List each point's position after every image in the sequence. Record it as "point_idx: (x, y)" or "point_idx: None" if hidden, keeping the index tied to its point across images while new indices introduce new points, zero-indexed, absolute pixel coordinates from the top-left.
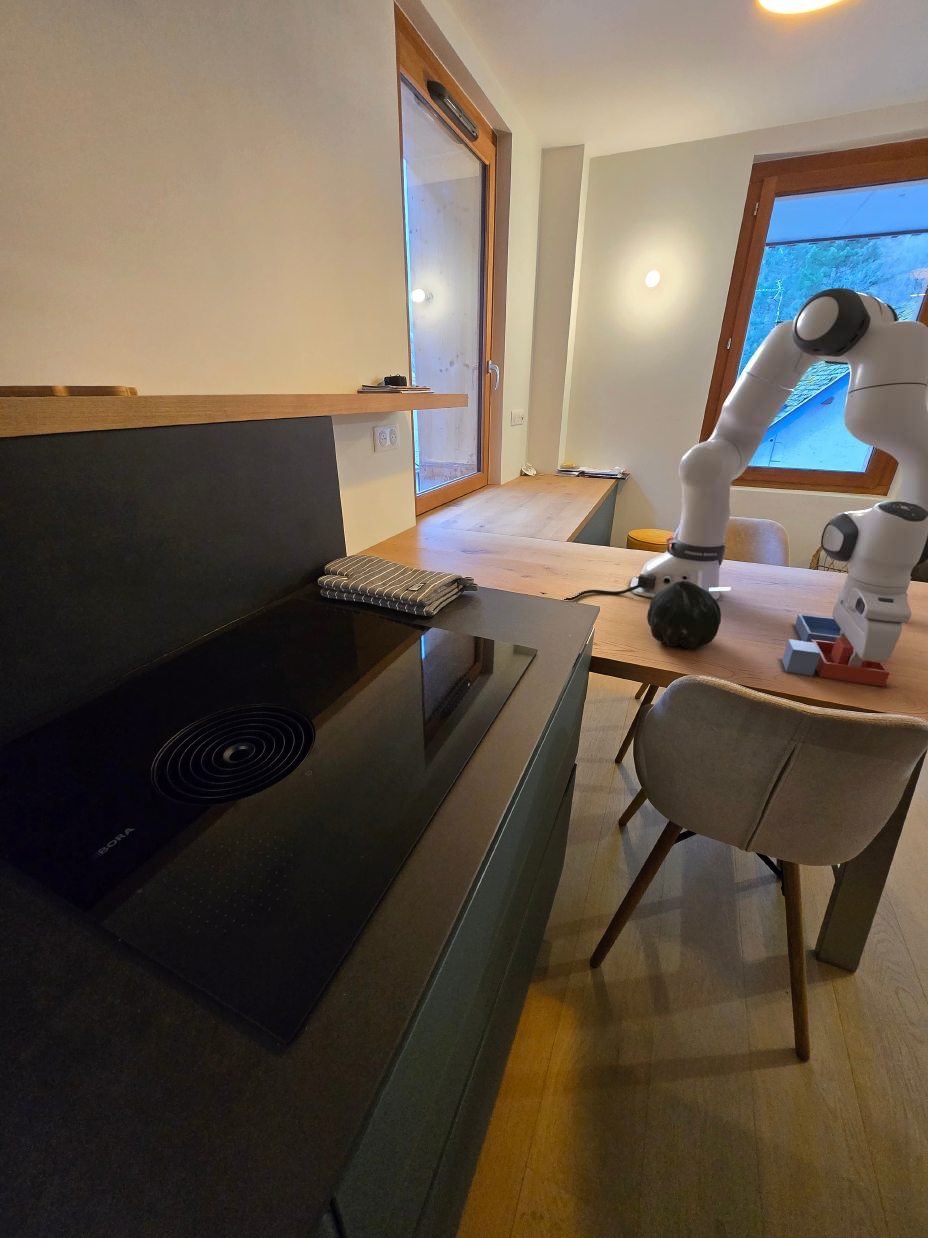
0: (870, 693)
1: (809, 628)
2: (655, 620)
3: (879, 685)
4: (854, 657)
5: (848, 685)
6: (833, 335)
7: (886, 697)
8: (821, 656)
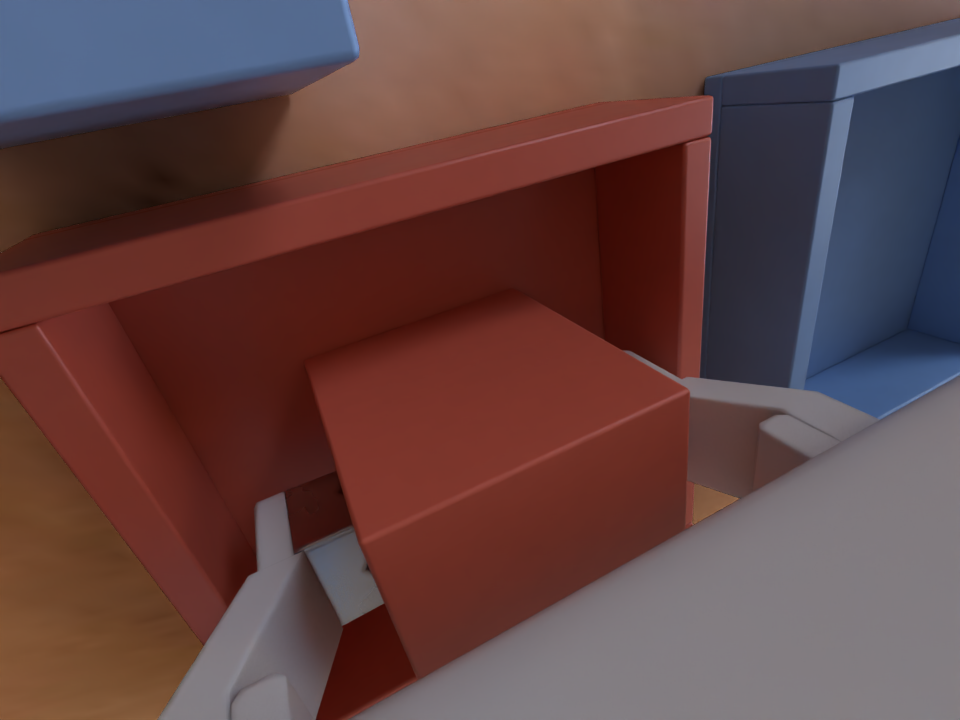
0: (54, 630)
1: (941, 120)
2: None
3: None
4: (212, 651)
5: (69, 487)
6: None
7: (85, 703)
8: (218, 227)
